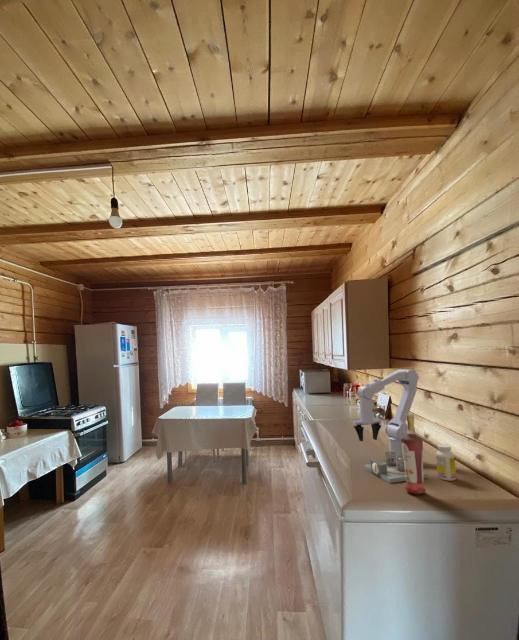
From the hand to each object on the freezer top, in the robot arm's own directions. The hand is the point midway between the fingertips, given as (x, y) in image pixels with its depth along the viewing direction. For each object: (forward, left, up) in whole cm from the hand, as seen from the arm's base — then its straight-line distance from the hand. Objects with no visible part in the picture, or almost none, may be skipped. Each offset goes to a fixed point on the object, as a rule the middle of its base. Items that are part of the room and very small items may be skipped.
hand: (368, 440), depth 161 cm
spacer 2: (-2, +21, -8) cm, 23 cm away
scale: (-1, +17, -10) cm, 20 cm away
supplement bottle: (-17, +29, -10) cm, 35 cm away
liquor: (+5, +37, -10) cm, 38 cm away
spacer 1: (-2, +13, -8) cm, 15 cm away
